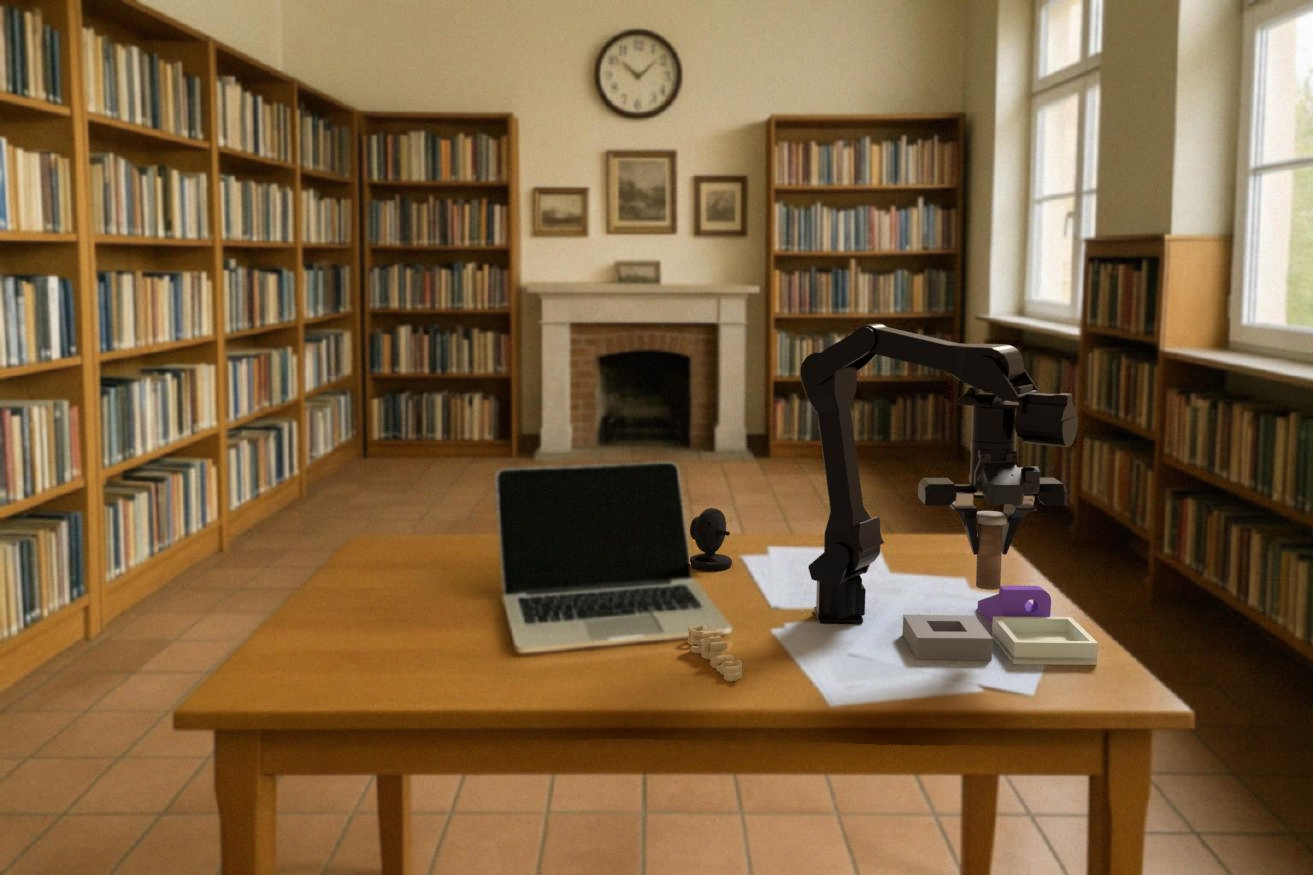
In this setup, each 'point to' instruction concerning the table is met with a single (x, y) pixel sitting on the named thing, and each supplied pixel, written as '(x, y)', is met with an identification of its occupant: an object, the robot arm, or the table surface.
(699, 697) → the table surface
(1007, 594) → the bracket
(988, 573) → the peg
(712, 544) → the webcam
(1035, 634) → the tray
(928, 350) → the robot arm
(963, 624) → the holder
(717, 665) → the decorative script
